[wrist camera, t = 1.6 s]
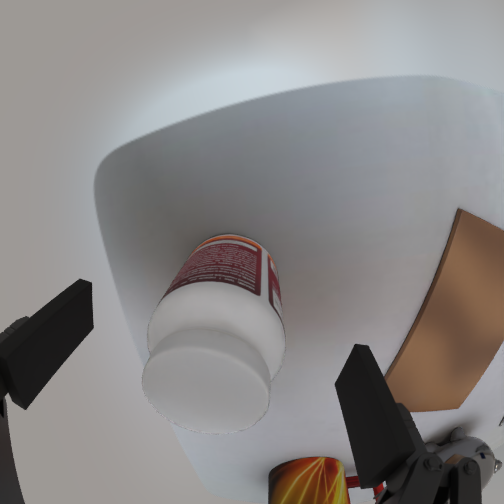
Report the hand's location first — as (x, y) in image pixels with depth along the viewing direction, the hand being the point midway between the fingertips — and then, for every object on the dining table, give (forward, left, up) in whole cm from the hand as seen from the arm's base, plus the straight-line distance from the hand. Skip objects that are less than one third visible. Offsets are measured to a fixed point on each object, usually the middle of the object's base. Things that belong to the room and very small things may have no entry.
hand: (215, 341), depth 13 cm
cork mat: (+1, +22, -7) cm, 23 cm away
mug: (+24, +16, -7) cm, 30 cm away
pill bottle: (0, 0, -7) cm, 7 cm away
